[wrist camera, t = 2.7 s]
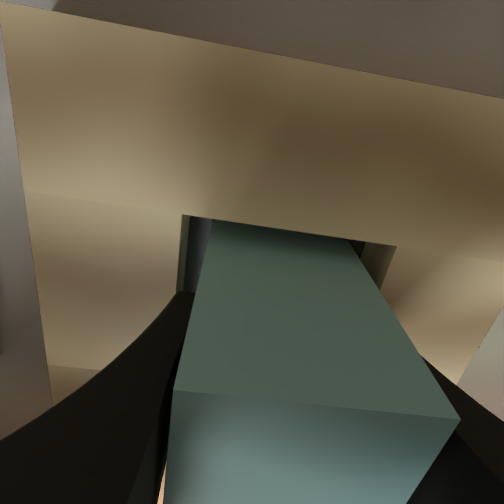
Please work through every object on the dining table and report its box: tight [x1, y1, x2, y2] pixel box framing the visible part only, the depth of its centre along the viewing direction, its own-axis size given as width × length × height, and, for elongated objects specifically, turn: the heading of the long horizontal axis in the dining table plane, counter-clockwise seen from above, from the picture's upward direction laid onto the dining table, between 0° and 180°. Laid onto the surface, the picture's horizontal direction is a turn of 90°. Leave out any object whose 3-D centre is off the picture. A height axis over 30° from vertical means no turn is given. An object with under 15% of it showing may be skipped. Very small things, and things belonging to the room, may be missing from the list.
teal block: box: [163, 219, 461, 504], centre depth 9 cm, size 4×4×7 cm
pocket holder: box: [0, 1, 504, 406], centre depth 12 cm, size 14×14×2 cm
